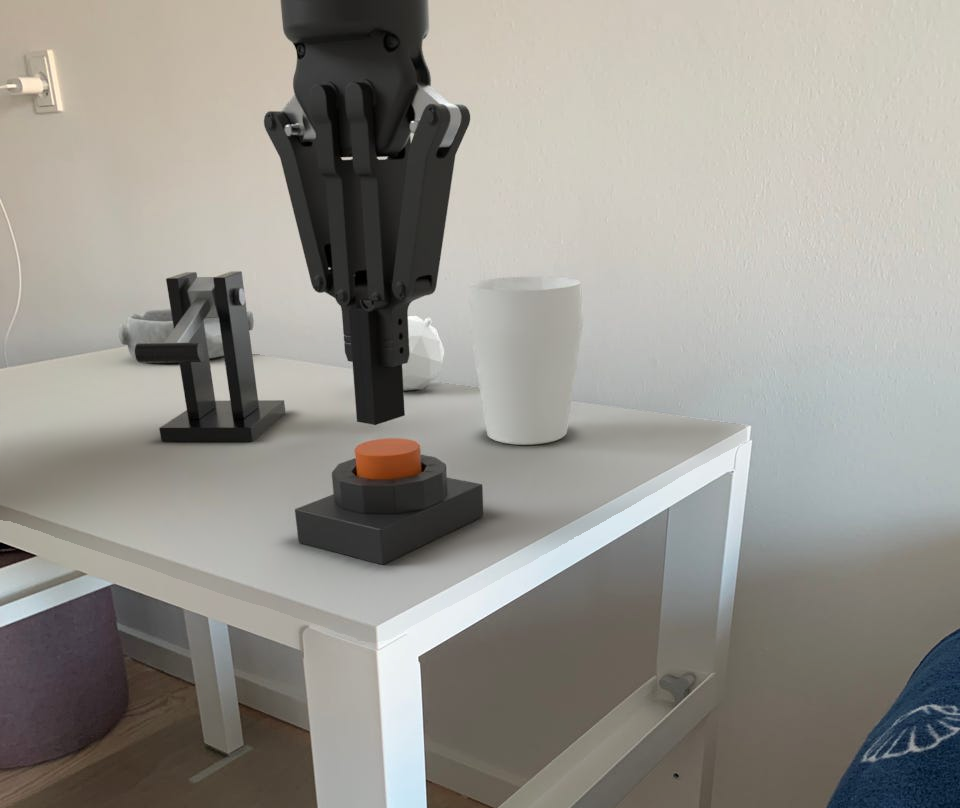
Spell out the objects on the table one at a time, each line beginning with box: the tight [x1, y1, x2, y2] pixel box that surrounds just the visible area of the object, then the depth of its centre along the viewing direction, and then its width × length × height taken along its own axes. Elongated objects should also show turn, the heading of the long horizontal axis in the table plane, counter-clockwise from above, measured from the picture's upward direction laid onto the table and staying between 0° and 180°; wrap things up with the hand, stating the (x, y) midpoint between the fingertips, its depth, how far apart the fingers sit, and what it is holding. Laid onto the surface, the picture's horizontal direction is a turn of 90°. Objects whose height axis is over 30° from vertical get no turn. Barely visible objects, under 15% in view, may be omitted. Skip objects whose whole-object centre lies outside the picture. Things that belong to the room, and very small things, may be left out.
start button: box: [354, 437, 422, 479], centre depth 62 cm, size 4×4×2 cm
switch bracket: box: [158, 270, 286, 443], centre depth 86 cm, size 10×8×13 cm
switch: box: [135, 276, 219, 364], centre depth 81 cm, size 12×5×2 cm, turn 174°
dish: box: [118, 308, 255, 360], centre depth 121 cm, size 14×14×5 cm
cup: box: [468, 276, 584, 446], centre depth 81 cm, size 9×9×12 cm
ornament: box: [402, 315, 446, 392], centre depth 99 cm, size 7×7×8 cm
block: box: [294, 454, 484, 565], centre depth 63 cm, size 10×7×4 cm
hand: (381, 418), depth 61 cm, fingers closed
